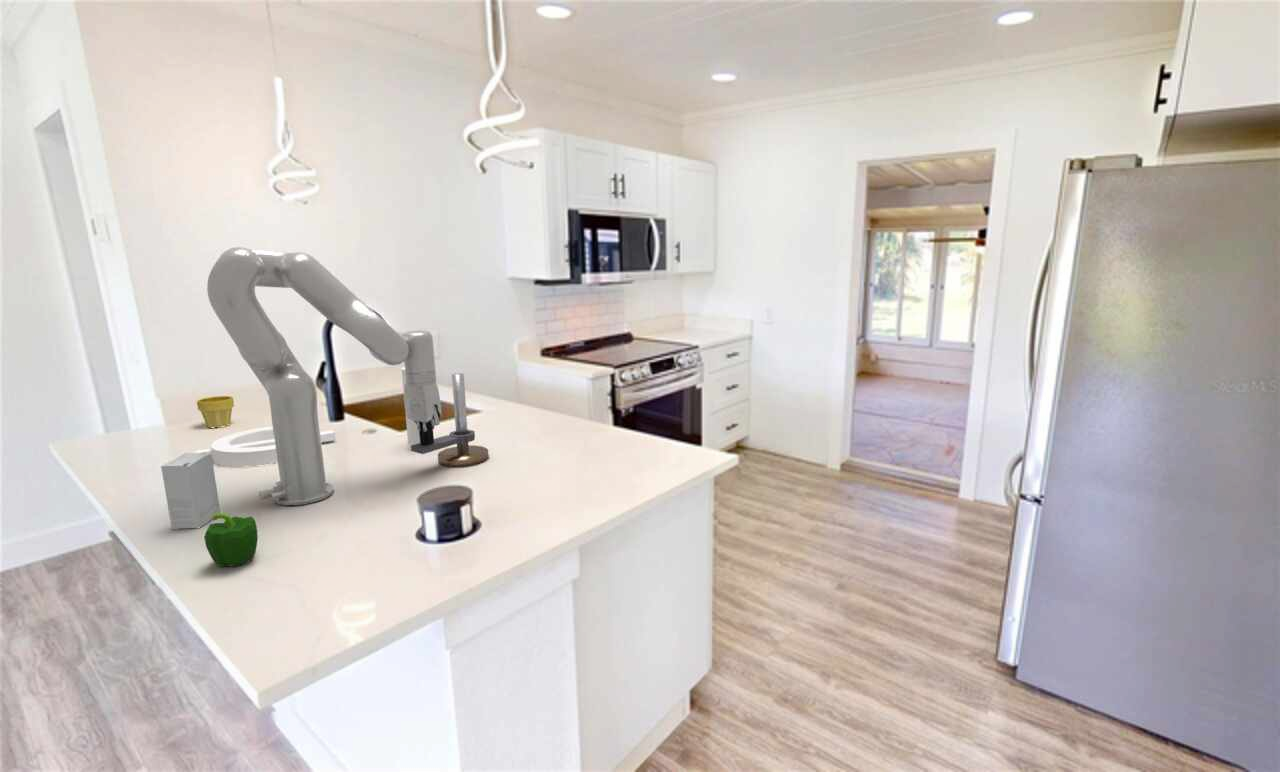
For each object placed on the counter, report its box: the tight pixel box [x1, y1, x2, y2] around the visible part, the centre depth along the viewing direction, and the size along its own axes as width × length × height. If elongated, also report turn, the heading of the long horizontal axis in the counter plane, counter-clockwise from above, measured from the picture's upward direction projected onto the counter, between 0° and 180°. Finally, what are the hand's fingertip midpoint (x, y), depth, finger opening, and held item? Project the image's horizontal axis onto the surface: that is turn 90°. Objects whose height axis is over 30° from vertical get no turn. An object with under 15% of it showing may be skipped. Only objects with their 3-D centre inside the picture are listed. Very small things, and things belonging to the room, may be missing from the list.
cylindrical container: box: [401, 366, 420, 451], centre depth 182 cm, size 7×7×25 cm
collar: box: [410, 429, 476, 455], centre depth 167 cm, size 18×7×2 cm, turn 145°
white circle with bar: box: [194, 425, 336, 468], centre depth 181 cm, size 28×28×5 cm
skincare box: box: [160, 452, 221, 530], centre depth 131 cm, size 8×6×15 cm
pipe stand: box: [437, 372, 490, 468], centre depth 171 cm, size 14×14×25 cm
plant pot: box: [196, 395, 235, 428], centre depth 209 cm, size 10×10×10 cm
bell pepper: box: [203, 513, 258, 567], centre depth 114 cm, size 8×8×10 cm
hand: (427, 443), depth 162 cm, fingers closed
